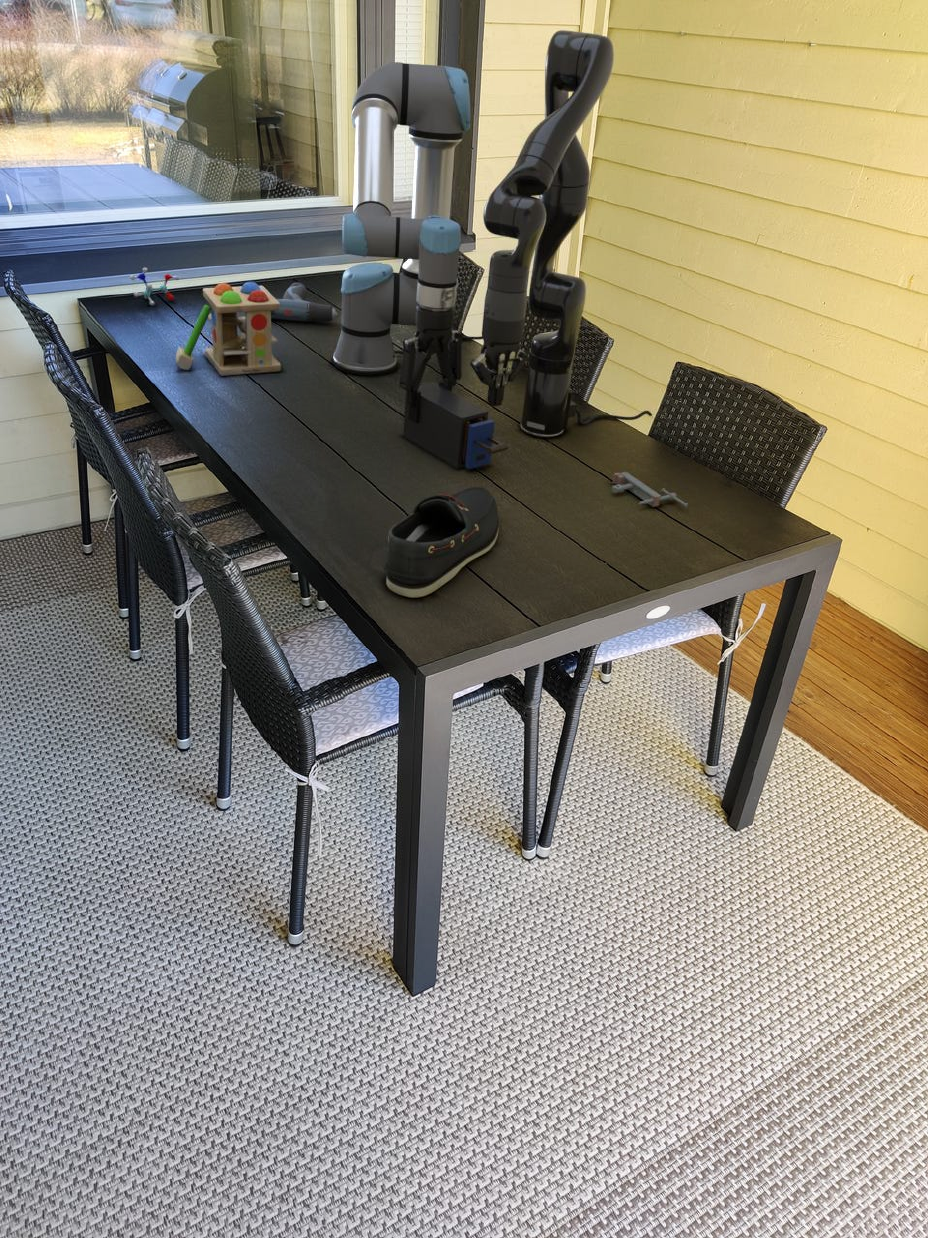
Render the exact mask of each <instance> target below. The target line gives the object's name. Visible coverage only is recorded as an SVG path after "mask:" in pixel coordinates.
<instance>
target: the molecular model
mask: <svg viewBox="0 0 928 1238" xmlns="http://www.w3.org/2000/svg"><path fill="white" fill-rule="evenodd" d="M146 273H148V268H147V267H143V268H142V273H139V275H135V274H134V275H133V274H132V275H130V276H129V278H130V280H132V281H134V280H136V279H139V280H140V281H142V282H143V284H144V285H145V290H143V292H137V291H135V292H134V293H133V296H134V297H135V298H138V297H139V296H140V297H141V296H143V298H144V299H145V300H148V301H149V305H150V306H151V307H152V306H154V305H155V301H153V300H152V298H151V297H150V296H151V294H152V293H153V292H154V291H161V292H163V293H164V294H165V295H166V297H167V299H168V301H170V302H171V301H174V300H175V296H174V295H173V294H171V293H170V291H169V290H168V287H167V283H168V281H170V280H171V279H172V280H175V281H179V280H180V276H179V275H170V274H169V273H165V275H164V283H163V284H161V285H160V286H159V287H153V285H152V284H150V283H149V284H148V282H147V281H146Z"/></svg>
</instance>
